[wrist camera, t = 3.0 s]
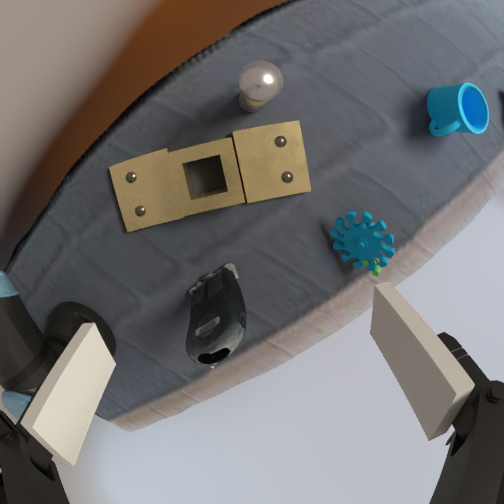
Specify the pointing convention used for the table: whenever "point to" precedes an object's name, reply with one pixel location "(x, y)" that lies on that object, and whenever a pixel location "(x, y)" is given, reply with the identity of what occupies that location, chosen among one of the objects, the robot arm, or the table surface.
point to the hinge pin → (258, 85)
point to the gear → (363, 242)
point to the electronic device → (216, 317)
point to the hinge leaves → (252, 170)
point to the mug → (457, 109)
